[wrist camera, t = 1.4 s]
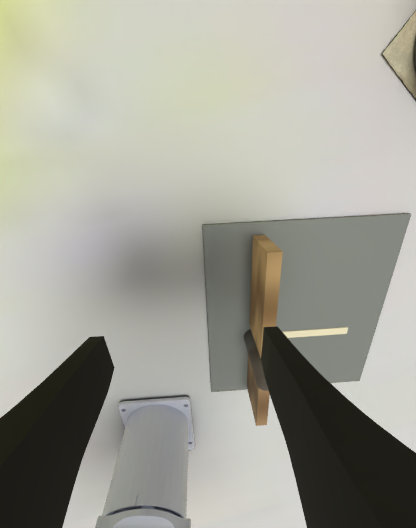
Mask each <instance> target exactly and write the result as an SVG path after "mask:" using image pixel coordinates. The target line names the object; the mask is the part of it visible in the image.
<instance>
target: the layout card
mask: <svg viewBox="0 0 416 528" xmlns="http://www.w3.org/2000/svg"><path fill="white" fill-rule="evenodd" d="M410 217H411V214H409V213H405V214H386V215H368V216H350V217H331V218H313V219H295V220H276V221H258V222H240V223H221V224H203V243H204V262H205V280H206V299H207V318H208V336H209V355H210V374H211V392H219V391H232V390H245V389H248V388H247V372H248V351H247V348H246V344H245V341H244V334H245V333H246V332H247V331H248V330H250V302H251V275H252V247H253V235H266V236H267V237H268V238H269V239H270V240H271V241H272V242H273V243H274V244H275V245H276V246H277V247H278V248H279V249H280V250H281V251H282V252H283V255H282V266H281V277H280V287H279V298H278V309H277V320H276V326H277V327H279V328H280V330H281V331H282V332H283V333H284V334H285V336H286V337H287V338H288V339H289V340H290V341H291V343H292V344H293V345H294V346H295V347H296V348H297V349H298V350H299V352H300V353H301V354H302V355H303V356H304V357H305V358H306V359H307V360H308V361H309V362H310V363H311V364H312V365H313V367H314V368H315V369H316V370H317V371H318V372H319V373H320V374H321V375H322V376H323V377H324V378H325V379H326V380H327V381H328V382H329V383H336V382H349V381H360V378H361V374H362V371H363V368H364V365H365V362H366V358H367V355H368V352H369V349H370V345H371V342H372V339H373V336H374V333H375V329H376V326H377V323H378V320H379V316H380V313H381V310H382V307H383V304H384V300H385V297H386V294H387V291H388V287H389V284H390V281H391V278H392V275H393V271H394V268H395V265H396V262H397V259H398V255H399V252H400V249H401V246H402V242H403V239H404V236H405V233H406V230H407V226H408V223H409V220H410Z"/></svg>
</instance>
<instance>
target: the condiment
mask: <svg viewBox="0 0 416 528" xmlns="http://www.w3.org/2000/svg"><path fill="white" fill-rule="evenodd" d="M382 54H383V55H384V56H385V58H386V59H387V60H388V62H389V63H390V65H391V66H392V68H393V69H394V71H395V72H396V74H397V75H398V76H399V77H400V79H402V80H403V82H404V84H405V86H406V87H407V88H408V90H409V91H410V92H411V93H412V94H413V96H414V97H415V98H416V11H415V13H414V14H413V15H412V16H411V18H410V19H409V21H408V22H407V23H406V24H405V25H404V27H403V29H402V30H401V31H400V32H399V33H398V35H397V36H396V37H395V38H394V40H393V41H392V42H391V43H390V45H389V46H388V47H387V48H386V50H385V51H384V52H383V53H382Z"/></svg>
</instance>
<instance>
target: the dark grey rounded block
mask: <svg viewBox="0 0 416 528" xmlns="http://www.w3.org/2000/svg"><path fill="white" fill-rule="evenodd" d="M244 341H245V344H246V348H247V351H248V372H247V388H248V393H249V397H250V401H251V405H252V410H253V414H254V418H255V422H256V426H258V425H267V416H268V405H269V395H270V393H269V390H268V387H267V384H266V380H265V376H264V371H263V367H262V362H261V358H260V355H259V352H258V349H257V346H256V343H255V340H254V337H253V334H252V331H251V329H250V330H248V331H247V332H246V333H245V334H244Z"/></svg>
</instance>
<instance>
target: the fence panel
mask: <svg viewBox="0 0 416 528" xmlns="http://www.w3.org/2000/svg"><path fill="white" fill-rule="evenodd" d="M282 255H283V252H282V251H281V250H280V249H279V248H278V247H277V246H276V245H275V244H274V243H273V242H272V241H271V240H270V239H269V238H268V237H267V236H266V235H253V247H252V275H251V302H250V329H251V331H252V334H253V337H254V340H255V343H256V346H257V349H258V352H259V355H260V358H261V352H262V341H263V330H264V327H275V326H276V320H277V309H278V298H279V287H280V277H281V266H282Z"/></svg>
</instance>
